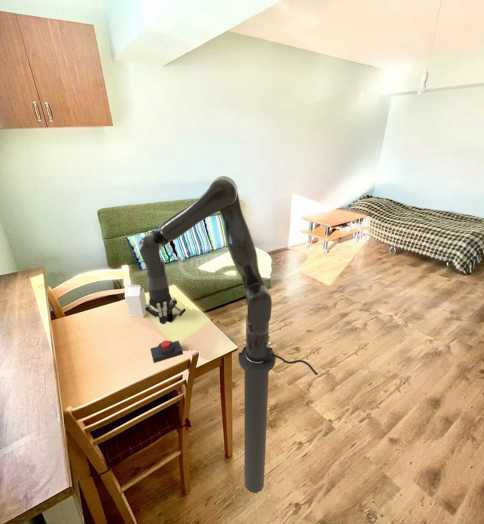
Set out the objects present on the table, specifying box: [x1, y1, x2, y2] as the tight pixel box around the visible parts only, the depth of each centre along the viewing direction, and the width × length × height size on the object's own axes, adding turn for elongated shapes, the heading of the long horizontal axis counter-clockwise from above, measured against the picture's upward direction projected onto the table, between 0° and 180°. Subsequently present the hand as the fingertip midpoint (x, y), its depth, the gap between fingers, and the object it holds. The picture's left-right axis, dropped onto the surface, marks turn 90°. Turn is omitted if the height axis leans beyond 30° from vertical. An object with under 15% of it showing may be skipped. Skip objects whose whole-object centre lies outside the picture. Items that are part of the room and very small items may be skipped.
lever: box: [169, 303, 187, 317], centre depth 136 cm, size 13×5×2 cm
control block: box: [149, 340, 184, 364], centre depth 116 cm, size 12×7×4 cm, turn 115°
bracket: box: [161, 294, 179, 323], centre depth 138 cm, size 10×8×13 cm
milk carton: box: [124, 284, 148, 318], centre depth 138 cm, size 7×7×19 cm
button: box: [160, 340, 171, 349], centre depth 115 cm, size 4×4×2 cm
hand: (163, 322), depth 112 cm, fingers closed
